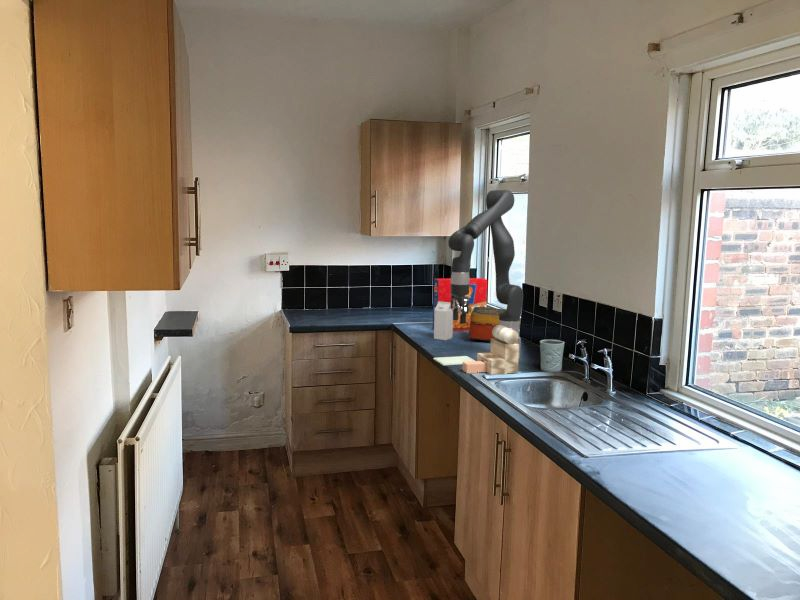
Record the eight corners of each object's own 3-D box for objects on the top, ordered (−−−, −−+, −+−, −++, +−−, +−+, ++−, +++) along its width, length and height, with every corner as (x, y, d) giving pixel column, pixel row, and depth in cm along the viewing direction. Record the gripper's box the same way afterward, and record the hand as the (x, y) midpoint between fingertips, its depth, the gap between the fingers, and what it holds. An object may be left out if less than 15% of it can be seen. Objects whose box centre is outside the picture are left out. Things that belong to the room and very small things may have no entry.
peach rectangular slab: (491, 369, 283) (492, 360, 282) (496, 372, 278) (496, 363, 278) (462, 371, 280) (462, 361, 279) (466, 374, 275) (467, 364, 274)
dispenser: (502, 365, 290) (504, 324, 287) (517, 373, 276) (519, 330, 274) (476, 367, 286) (478, 325, 283) (491, 375, 273) (492, 331, 270)
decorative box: (473, 336, 357) (471, 305, 355) (515, 335, 350) (513, 304, 348) (465, 345, 338) (463, 313, 336) (509, 345, 331) (507, 312, 329)
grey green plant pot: (545, 372, 278) (547, 344, 276) (534, 367, 288) (535, 339, 286) (567, 371, 281) (569, 343, 279) (555, 366, 291) (556, 338, 289)
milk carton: (440, 336, 350) (441, 300, 347) (452, 338, 346) (453, 301, 344) (433, 339, 344) (434, 302, 341) (446, 340, 340) (447, 303, 337)
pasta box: (437, 331, 364) (438, 280, 360) (432, 329, 371) (433, 278, 367) (485, 330, 371) (487, 279, 367) (480, 327, 379) (481, 278, 375)
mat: (466, 357, 304) (466, 355, 304) (477, 363, 293) (477, 362, 292) (433, 359, 299) (433, 357, 299) (443, 365, 288) (443, 364, 288)
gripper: (475, 284, 270) (474, 324, 272) (462, 280, 283) (461, 318, 286) (457, 285, 268) (456, 325, 270) (445, 281, 281) (444, 319, 284)
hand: (459, 321), depth 278 cm, fingers open, 8 cm apart
